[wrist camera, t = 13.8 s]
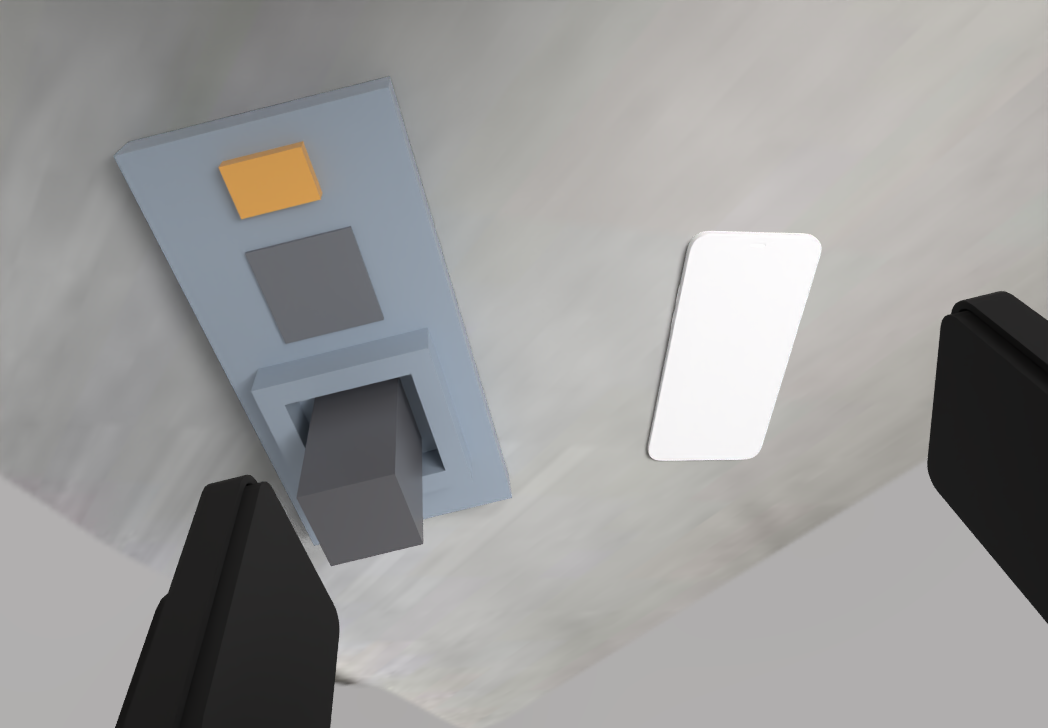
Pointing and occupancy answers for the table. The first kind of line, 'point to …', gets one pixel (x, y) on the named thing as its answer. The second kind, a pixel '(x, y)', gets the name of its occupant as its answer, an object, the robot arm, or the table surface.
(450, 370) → the blue-grey fixture board
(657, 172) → the table surface
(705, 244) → the smartphone
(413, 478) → the block
